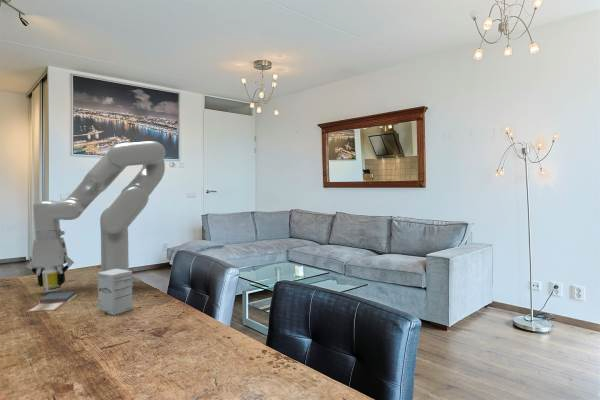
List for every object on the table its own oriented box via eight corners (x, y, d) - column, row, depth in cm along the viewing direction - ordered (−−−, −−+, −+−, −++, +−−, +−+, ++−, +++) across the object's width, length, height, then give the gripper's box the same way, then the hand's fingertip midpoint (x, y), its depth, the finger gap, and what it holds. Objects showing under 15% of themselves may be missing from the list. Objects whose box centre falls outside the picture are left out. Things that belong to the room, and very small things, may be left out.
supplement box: (97, 312, 122) (96, 272, 121) (118, 305, 128) (117, 267, 128) (112, 315, 118) (112, 275, 118) (133, 309, 125) (132, 270, 124)
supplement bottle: (64, 287, 142) (62, 261, 141) (53, 292, 137) (51, 264, 136) (51, 287, 143) (48, 261, 142) (39, 292, 137) (37, 265, 137)
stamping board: (77, 296, 138) (77, 293, 138) (56, 313, 121) (56, 309, 121) (49, 298, 136) (49, 295, 136) (23, 314, 119) (23, 311, 119)
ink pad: (75, 294, 138) (75, 291, 138) (66, 301, 130) (66, 298, 130) (50, 296, 136) (50, 292, 136) (39, 303, 128) (39, 299, 128)
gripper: (78, 232, 144) (81, 280, 145) (26, 235, 140) (30, 284, 141) (70, 235, 136) (74, 285, 137) (15, 238, 133) (20, 290, 134)
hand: (51, 284), depth 139 cm, fingers closed on supplement bottle, 5 cm apart
